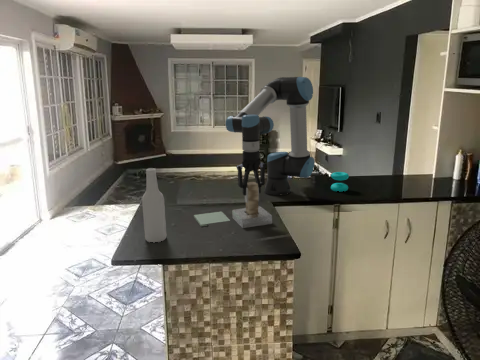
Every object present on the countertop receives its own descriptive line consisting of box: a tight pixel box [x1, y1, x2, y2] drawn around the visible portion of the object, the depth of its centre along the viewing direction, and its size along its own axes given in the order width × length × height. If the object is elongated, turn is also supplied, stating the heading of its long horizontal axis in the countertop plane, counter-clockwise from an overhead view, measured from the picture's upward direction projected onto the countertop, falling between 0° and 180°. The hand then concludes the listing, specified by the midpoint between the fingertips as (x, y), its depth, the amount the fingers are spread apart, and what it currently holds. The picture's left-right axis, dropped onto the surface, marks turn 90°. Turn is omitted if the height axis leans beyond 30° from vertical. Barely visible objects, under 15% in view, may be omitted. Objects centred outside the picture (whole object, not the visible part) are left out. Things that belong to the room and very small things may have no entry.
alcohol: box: [141, 167, 168, 244], centre depth 165 cm, size 9×9×30 cm
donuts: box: [330, 171, 350, 193], centre depth 235 cm, size 10×10×10 cm
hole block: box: [231, 205, 273, 229], centre depth 185 cm, size 14×14×5 cm
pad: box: [193, 211, 231, 227], centre depth 190 cm, size 14×14×1 cm
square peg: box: [245, 181, 259, 215], centre depth 183 cm, size 4×4×14 cm
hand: (251, 201), depth 183 cm, fingers closed on square peg, 4 cm apart
